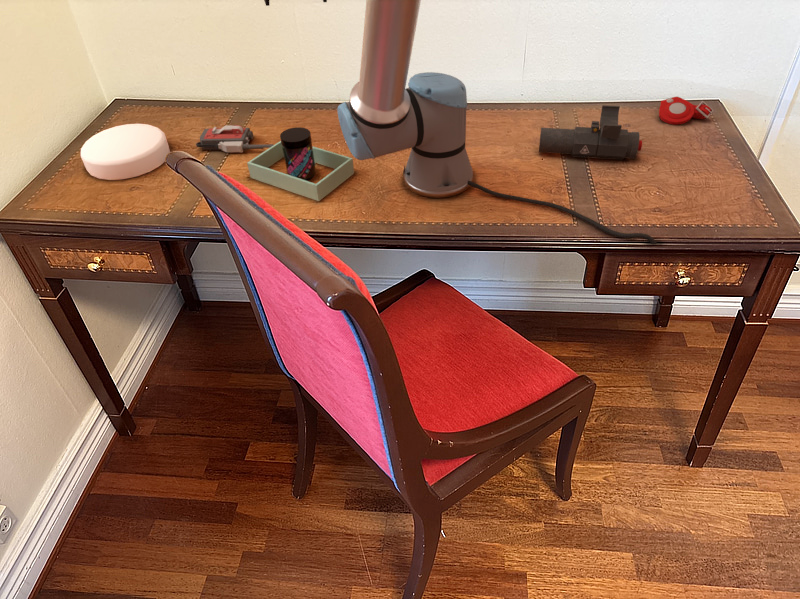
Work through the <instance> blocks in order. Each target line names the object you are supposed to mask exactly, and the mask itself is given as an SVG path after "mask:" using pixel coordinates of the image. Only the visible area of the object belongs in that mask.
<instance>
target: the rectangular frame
mask: <svg viewBox="0 0 800 599" xmlns="http://www.w3.org/2000/svg"><path fill="white" fill-rule="evenodd" d="M312 147H313V154H314V160H315V164H318V165H321V166H324V167H328V168H331V169H334V170H332V171H331V172H329V173H328V174H327V175H326V176H324V177H323V178H322V179H320V180H319V181H318V182H316V183H314V182H311V181H310V180H309V181H306V180H303V179H300V178H297V177H294V176H291V175H288V174H287V173H285V172H282V171H278V170H276V169H272V168H270V167H272V166H273V165H274V164H276V163H277V162H279V161H281V160H282V159H284V154H283V149H282V144H281V140H280V141H278V142H276V143H275V144H273V146H272V147H270V148H266V150H264V151H262V152H261V153H259V154H257V156H255V157H253V158H252V159H250V160H249V161H247V162H246V164H247V169H248V173H249V177H250V179H252V180H256V181H258V182H261V183H264V184H267V185H270V186H273V187H276V188H279V189H282V190H285V191H287V192H290V193H294V194H295V195H299V196H302V197H305V198H307V199H311V200H314V201H317V202H320V201H321V200H323V198H325V197H326V196H328V195H330V193H332V192H333V191H334V190H335V189H336V188H338V187H339V186H341V184H343V183H344V182H346V180H348V179H349V178H350V177H352V176H353V175H354V174H355V166H354V157H351V156H346V155H344V154H340V153H337V152H334V151H330V150H327V149H323V148H319V147H317V146H315V145H314V146H313V145H312Z"/></svg>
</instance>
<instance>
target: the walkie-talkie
mask: <svg viewBox="0 0 800 599" xmlns="http://www.w3.org/2000/svg"><path fill="white" fill-rule="evenodd" d="M253 139H254V133H253V131H252V130H251V128H250V127H243V126H242V125H239V124H235V125H230V124H229V125H224V126H223V127H219V128H218V127H217V126H214V127H213V128H204V129H203V130H202V133H200V136H199V141H198V142H196V143H195V145H196V147H197V148H202V149H203V150H204V151H206V150H207V151H209V150H211V151H212V150H213V151H215V150H216V151H217V150H218V151H219V150H220V151H223V152H225V153H243V152H244V151H247V150H263V149H269V148H270V147H272V146H273V145H274V144H273V143H272V144H271V143H269V144H268V143H267V144H249V143H250V141H251V140H253Z"/></svg>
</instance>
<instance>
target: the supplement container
mask: <svg viewBox="0 0 800 599" xmlns="http://www.w3.org/2000/svg"><path fill="white" fill-rule="evenodd" d="M279 138H280V141H281V144H282V149H283V154H284V157H283V159H284V164H285V169H286V174H288V175H291V176H294V177H297V178H300V179H303V180H306V181H309V182H310V181H312V180H313V179H314V178H315V176H316V174H317V167H316V163H315V160H314V154H313V147H312V146H313V140H312V134H311V131H310V130H309V129H308V128H306V127H301V126H300V127H299V126H297V127H290V128H287V129H285V130H283V131H282V132H281V133H280V134H279Z"/></svg>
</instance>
